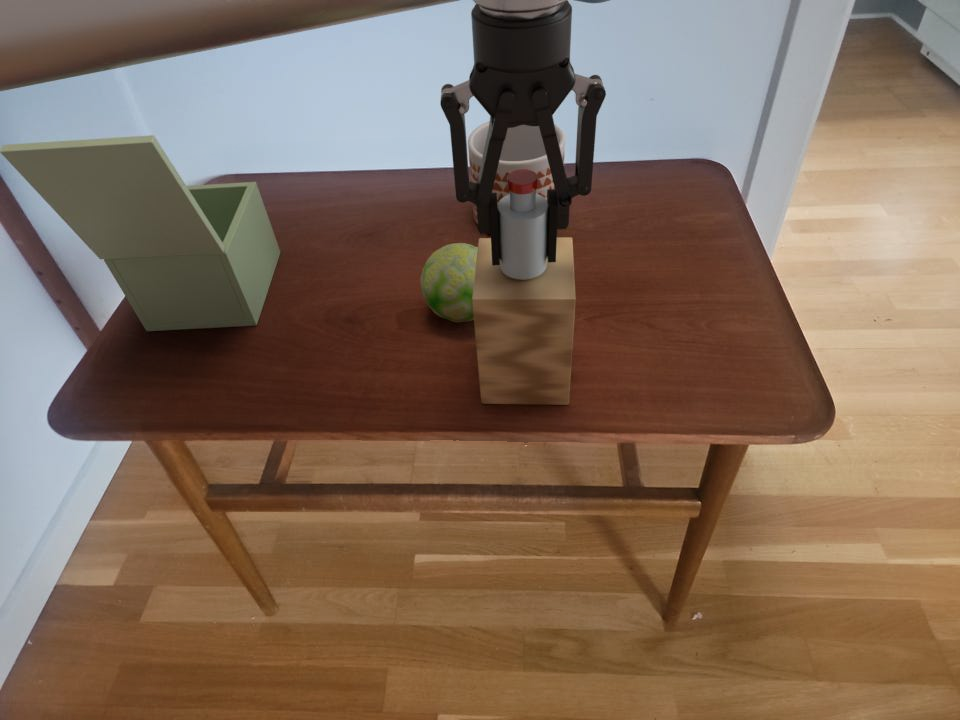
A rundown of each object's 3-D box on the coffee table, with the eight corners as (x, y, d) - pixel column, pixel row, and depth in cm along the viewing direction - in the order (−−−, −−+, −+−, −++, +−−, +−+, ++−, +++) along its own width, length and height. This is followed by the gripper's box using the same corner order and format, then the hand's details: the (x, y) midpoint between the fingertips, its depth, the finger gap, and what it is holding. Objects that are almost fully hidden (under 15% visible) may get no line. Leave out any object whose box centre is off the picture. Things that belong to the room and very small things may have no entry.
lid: (2, 144, 63) (-1, 151, 62) (154, 134, 62) (152, 142, 62) (102, 252, 77) (99, 259, 77) (224, 246, 77) (223, 252, 76)
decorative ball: (416, 333, 83) (405, 272, 76) (437, 284, 90) (429, 223, 82) (491, 343, 81) (487, 281, 74) (507, 291, 88) (505, 230, 80)
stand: (481, 403, 74) (471, 299, 63) (486, 342, 81) (478, 237, 70) (568, 405, 73) (575, 299, 62) (566, 342, 80) (572, 236, 69)
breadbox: (182, 257, 97) (148, 188, 89) (280, 252, 97) (255, 181, 88) (146, 331, 86) (103, 260, 78) (256, 325, 86) (225, 253, 77)
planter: (579, 223, 97) (584, 145, 88) (498, 251, 94) (495, 173, 85) (534, 181, 106) (534, 106, 97) (459, 206, 102) (451, 130, 93)
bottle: (521, 286, 63) (520, 197, 56) (489, 264, 66) (485, 176, 59) (556, 265, 65) (560, 177, 58) (525, 244, 68) (524, 157, 60)
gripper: (633, -23, 50) (607, 228, 67) (404, -8, 51) (435, 237, 67) (652, 11, 45) (618, 274, 62) (397, 27, 45) (432, 284, 62)
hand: (523, 255), depth 64 cm, fingers closed on bottle, 5 cm apart
